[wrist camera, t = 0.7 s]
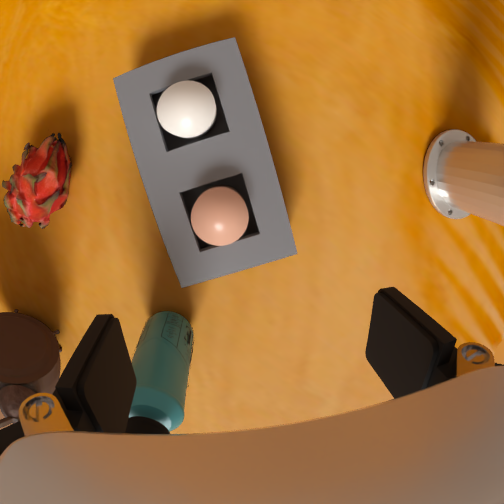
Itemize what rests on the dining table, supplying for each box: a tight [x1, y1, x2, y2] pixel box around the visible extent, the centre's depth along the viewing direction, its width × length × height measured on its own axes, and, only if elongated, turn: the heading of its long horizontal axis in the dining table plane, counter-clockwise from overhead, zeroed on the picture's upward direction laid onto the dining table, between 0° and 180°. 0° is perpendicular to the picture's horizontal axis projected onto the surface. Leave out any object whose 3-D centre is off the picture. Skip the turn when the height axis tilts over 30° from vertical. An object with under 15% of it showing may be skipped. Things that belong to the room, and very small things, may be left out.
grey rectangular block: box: [113, 37, 297, 288], centre depth 30 cm, size 12×22×6 cm, turn 16°
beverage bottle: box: [125, 311, 194, 434], centre depth 29 cm, size 6×7×20 cm
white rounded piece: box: [157, 81, 217, 139], centre depth 25 cm, size 5×5×4 cm
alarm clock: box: [0, 309, 62, 428], centre depth 28 cm, size 15×7×20 cm, turn 68°
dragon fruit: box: [2, 133, 72, 229], centre depth 28 cm, size 8×8×12 cm
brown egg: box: [191, 185, 249, 246], centre depth 28 cm, size 5×5×4 cm
